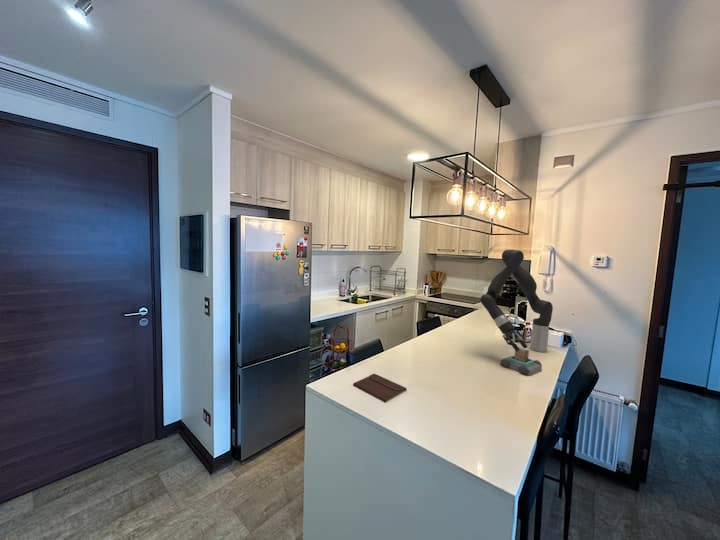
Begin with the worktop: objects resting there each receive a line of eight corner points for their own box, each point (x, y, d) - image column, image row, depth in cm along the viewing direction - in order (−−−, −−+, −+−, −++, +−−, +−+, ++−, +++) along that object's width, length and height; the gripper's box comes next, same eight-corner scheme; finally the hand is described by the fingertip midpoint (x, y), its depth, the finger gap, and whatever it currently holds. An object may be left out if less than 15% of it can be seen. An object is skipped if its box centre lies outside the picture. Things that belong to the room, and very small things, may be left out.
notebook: (385, 403, 123) (385, 399, 122) (353, 386, 136) (353, 382, 136) (406, 391, 133) (406, 387, 133) (374, 376, 147) (374, 372, 147)
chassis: (513, 359, 174) (514, 351, 174) (542, 370, 161) (543, 361, 160) (499, 365, 165) (499, 356, 165) (528, 376, 152) (529, 367, 152)
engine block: (518, 360, 166) (519, 346, 165) (527, 363, 162) (529, 349, 161) (514, 361, 163) (515, 347, 163) (523, 365, 159) (524, 350, 159)
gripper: (501, 322, 164) (520, 348, 156) (515, 319, 172) (533, 344, 164) (492, 329, 169) (510, 354, 161) (505, 325, 177) (523, 350, 169)
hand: (522, 349), depth 162 cm, fingers open, 8 cm apart
